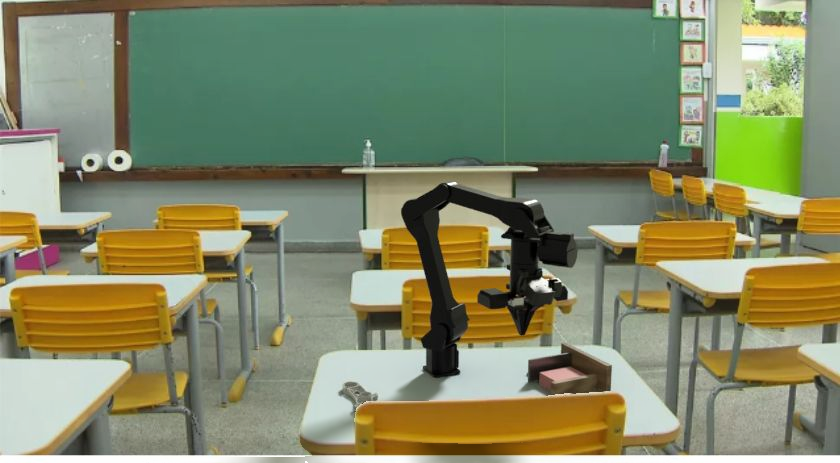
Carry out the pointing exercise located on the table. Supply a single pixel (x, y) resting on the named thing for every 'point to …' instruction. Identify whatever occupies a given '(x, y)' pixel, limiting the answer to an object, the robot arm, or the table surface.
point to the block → (557, 376)
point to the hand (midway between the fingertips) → (521, 334)
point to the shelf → (579, 360)
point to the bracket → (354, 388)
